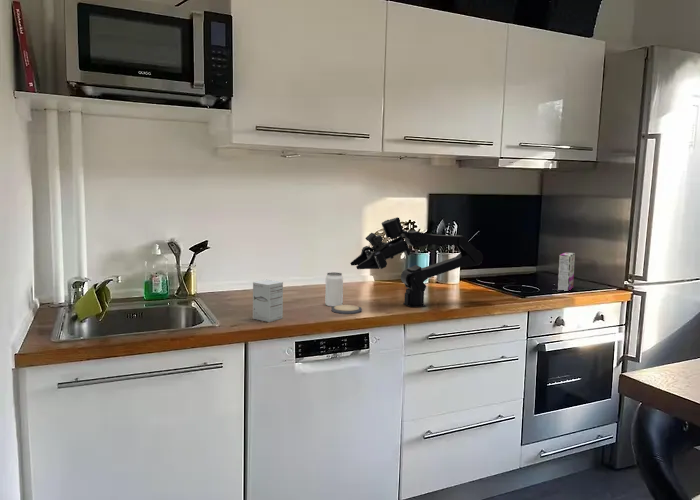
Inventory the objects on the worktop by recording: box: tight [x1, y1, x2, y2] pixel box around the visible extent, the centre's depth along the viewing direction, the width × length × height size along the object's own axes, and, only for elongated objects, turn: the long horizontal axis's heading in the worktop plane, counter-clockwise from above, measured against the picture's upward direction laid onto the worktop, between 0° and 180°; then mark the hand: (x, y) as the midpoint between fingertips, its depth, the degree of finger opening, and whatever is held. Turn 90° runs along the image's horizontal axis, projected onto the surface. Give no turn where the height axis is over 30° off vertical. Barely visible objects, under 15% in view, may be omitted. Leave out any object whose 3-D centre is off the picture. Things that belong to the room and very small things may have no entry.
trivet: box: [331, 304, 363, 315], centre depth 206 cm, size 11×11×1 cm
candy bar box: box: [557, 252, 576, 292], centre depth 254 cm, size 11×5×16 cm, turn 148°
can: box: [324, 271, 344, 308], centre depth 214 cm, size 6×6×12 cm
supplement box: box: [252, 279, 284, 323], centre depth 191 cm, size 7×7×13 cm
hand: (353, 266), depth 209 cm, fingers open, 9 cm apart
